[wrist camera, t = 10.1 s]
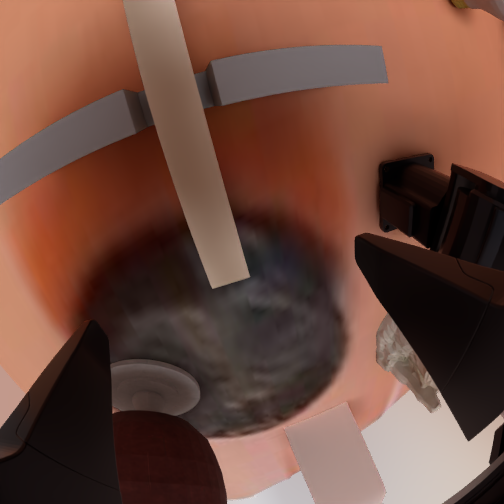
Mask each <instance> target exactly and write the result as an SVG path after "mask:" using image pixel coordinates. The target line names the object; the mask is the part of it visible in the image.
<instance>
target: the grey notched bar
mask: <svg viewBox="0 0 504 504" xmlns="http://www.w3.org/2000/svg"><path fill="white" fill-rule="evenodd" d="M194 77H195V80H196V84H197V88H198V92H199V95H200V99H201V103H202V106H203V109H205V108H208V107H212V106H224V105H228V104H232V103H236V102H240V101H245V100H249V99H254V98H259V97H264V96H269V95H274V94H280V93H286V92H292V91H299V90H306V89H313V88H322V87H331V86H342V85H355V84H375V83H388V78H387V72H386V66H385V61H384V55H383V50H382V46H370V45H320V46H303V47H292V48H282V49H274V50H266V51H259V52H253V53H247V54H241V55H236V56H231V57H226V58H221V59H217V60H213V61H210V63H209V65H208V67H207V69H206V71H204V72H200V73H197V74H194ZM152 125H155V123H154V120H153V117H152V113H151V110H150V107H149V103H148V100H147V96H146V93H145V90H143V91H141V92H138V93H137V92H133V91H128V90H124V89H122V90H120V91H117V92H115V93H113V94H110V95H108V96H106V97H104V98H101V99H99V100H97V101H95V102H93V103H91V104H89V105H87V106H85V107H83V108H81V109H79V110H77V111H75V112H73V113H71V114H69V115H67V116H66V117H64V118H62V119H60V120H58V121H57V122H55V123H53V124H51V125H50V126H48V127H46V128H45V129H43V130H41V131H40V132H38V133H37V134H35V135H34V136H32V137H30V138H29V139H27V140H26V141H24V142H23V143H21V144H20V145H19V146H17V147H16V148H14V149H13V150H11V151H10V152H9V153H7V154H6V155H5V156H3V157H2V158H1V159H0V205H1V204H2V203H3V202H5V201H6V200H8V199H9V198H11V197H12V196H14V195H16V194H17V193H19V192H20V191H22V190H23V189H25V188H27V187H28V186H30V185H32V184H33V183H35V182H37V181H38V180H40V179H42V178H43V177H45V176H47V175H49V174H51V173H52V172H54V171H56V170H58V169H60V168H62V167H63V166H65V165H67V164H69V163H71V162H73V161H75V160H77V159H79V158H81V157H83V156H85V155H87V154H89V153H92V152H94V151H96V150H98V149H100V148H102V147H105V146H107V145H109V144H112V143H114V142H116V141H119V140H121V139H123V138H126V137H128V136H131V135H133V134H136V133H138V132H140V131H141V130H143V129H145V128H147V127H149V126H152Z"/></svg>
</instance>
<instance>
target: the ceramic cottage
mask: <svg viewBox="0 0 504 504" xmlns="http://www.w3.org/2000/svg"><path fill="white" fill-rule="evenodd" d="M376 342H377V348H376V353H377V355H376V358H377V360H376V361H377V363H378V364H379V365H380V366H381V367H382V368H383V369H384V370H385V371H388V372H389V371H391V372H392V373H393V375H394V376H395V377H396V378H397V379H398V381H399V382H401V383H403V384H405V385H406V386H407V387H408V388H409V389H410V390H411V391H412V392H413V393H414V394H415V396H416V398H417V400H418V401H419V402H421V403H422V404H423V405H424V406H425V407H426V408H427V409H428V410H429V411H430V413H434V412H435V411H437V410H438V409H439V408H440V407H441V404H440V400H439V399H438V397H437V395H436V394H437V393H438V392H439V389H438V388H437V386H436V385H435V383H434V381H433V380H432V378H431V376H430V375H429V373H428V372H427V370H426V369H425V367H424V365H423V364H422V362H421V361H420V359H419V358H418V356H417V355H416V353H415V352H414V350H413V349H412V347H411V346H410V344H409V343H408V341H407V340H406V338H405V337H404V335H403V334H402V332H401V331H400V329H399V328H398V327H397V325H396V324H395V322H394V321H393V319H392V318H391V317H390V315H389V314H388V313H387V315H386V316H385V318H384V319H383V321H382V324H381V325H380V327H379V329H378V331H377V336H376Z"/></svg>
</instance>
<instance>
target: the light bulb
mask: <svg viewBox="0 0 504 504" xmlns="http://www.w3.org/2000/svg"><path fill="white" fill-rule="evenodd" d="M451 1H452V3H453V4H454V5H455V6H456V7H457V8H471V9H482V10H484V11H486V12H488V13H490V14H492V15H493V16H495V17H497V18H499V19H500V20H502V21H504V0H451Z"/></svg>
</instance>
